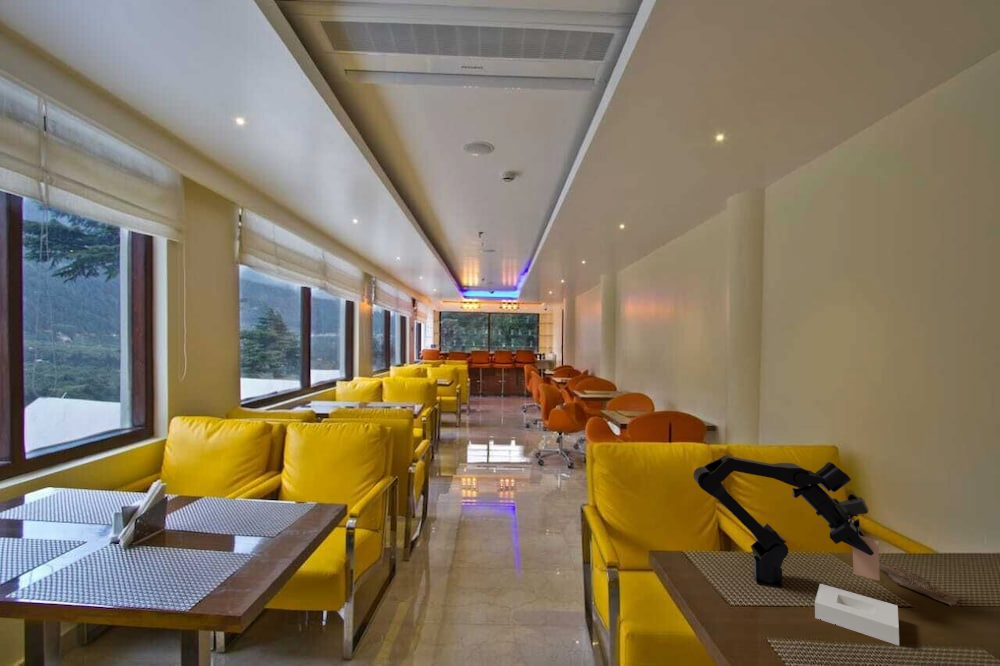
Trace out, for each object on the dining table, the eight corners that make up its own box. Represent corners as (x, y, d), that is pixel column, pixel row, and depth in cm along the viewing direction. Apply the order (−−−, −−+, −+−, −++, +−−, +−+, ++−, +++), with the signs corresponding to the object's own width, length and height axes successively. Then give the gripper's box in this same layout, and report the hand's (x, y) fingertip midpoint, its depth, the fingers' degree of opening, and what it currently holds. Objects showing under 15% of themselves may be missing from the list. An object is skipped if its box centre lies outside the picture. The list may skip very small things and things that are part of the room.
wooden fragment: (973, 607, 117) (973, 603, 117) (931, 607, 118) (930, 603, 118) (891, 561, 143) (891, 558, 143) (856, 561, 143) (856, 558, 143)
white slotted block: (815, 618, 112) (814, 602, 113) (820, 598, 121) (819, 583, 122) (899, 645, 102) (898, 628, 102) (898, 621, 111) (897, 605, 111)
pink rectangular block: (853, 573, 121) (852, 537, 122) (853, 569, 123) (852, 533, 124) (879, 580, 118) (878, 543, 118) (879, 576, 120) (878, 539, 120)
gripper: (844, 494, 117) (901, 549, 109) (847, 479, 131) (898, 526, 123) (808, 517, 122) (861, 570, 114) (816, 499, 136) (863, 546, 128)
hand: (872, 552), depth 120 cm, fingers closed on pink rectangular block, 3 cm apart
